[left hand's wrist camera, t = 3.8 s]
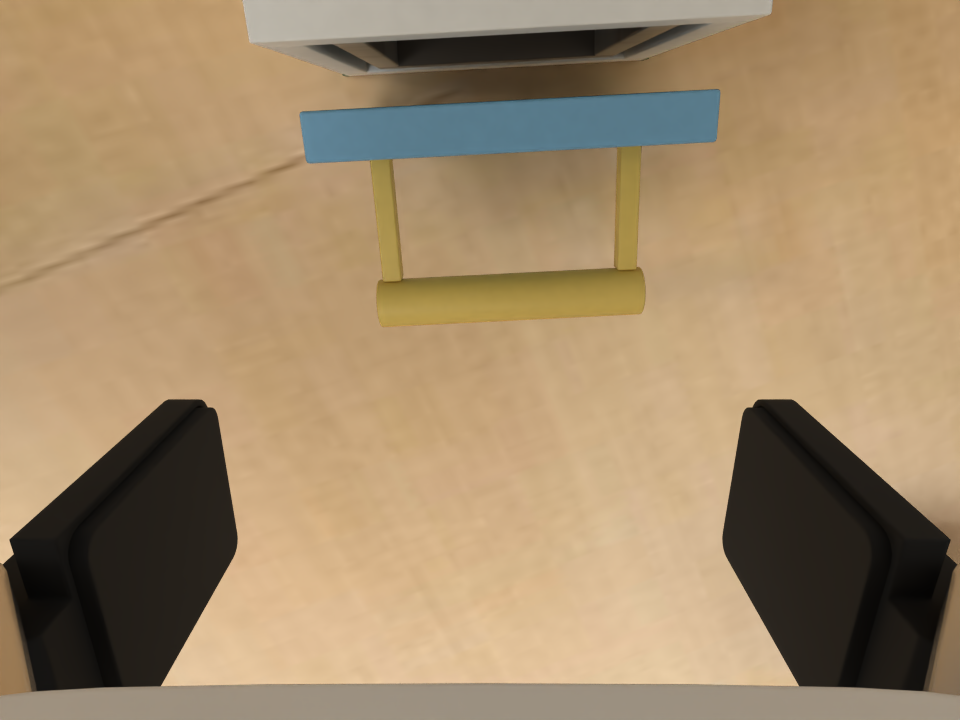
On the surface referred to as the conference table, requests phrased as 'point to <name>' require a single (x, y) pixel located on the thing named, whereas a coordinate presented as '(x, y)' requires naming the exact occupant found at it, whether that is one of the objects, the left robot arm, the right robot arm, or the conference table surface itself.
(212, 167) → the conference table surface
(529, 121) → the drawer
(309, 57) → the cabinet
